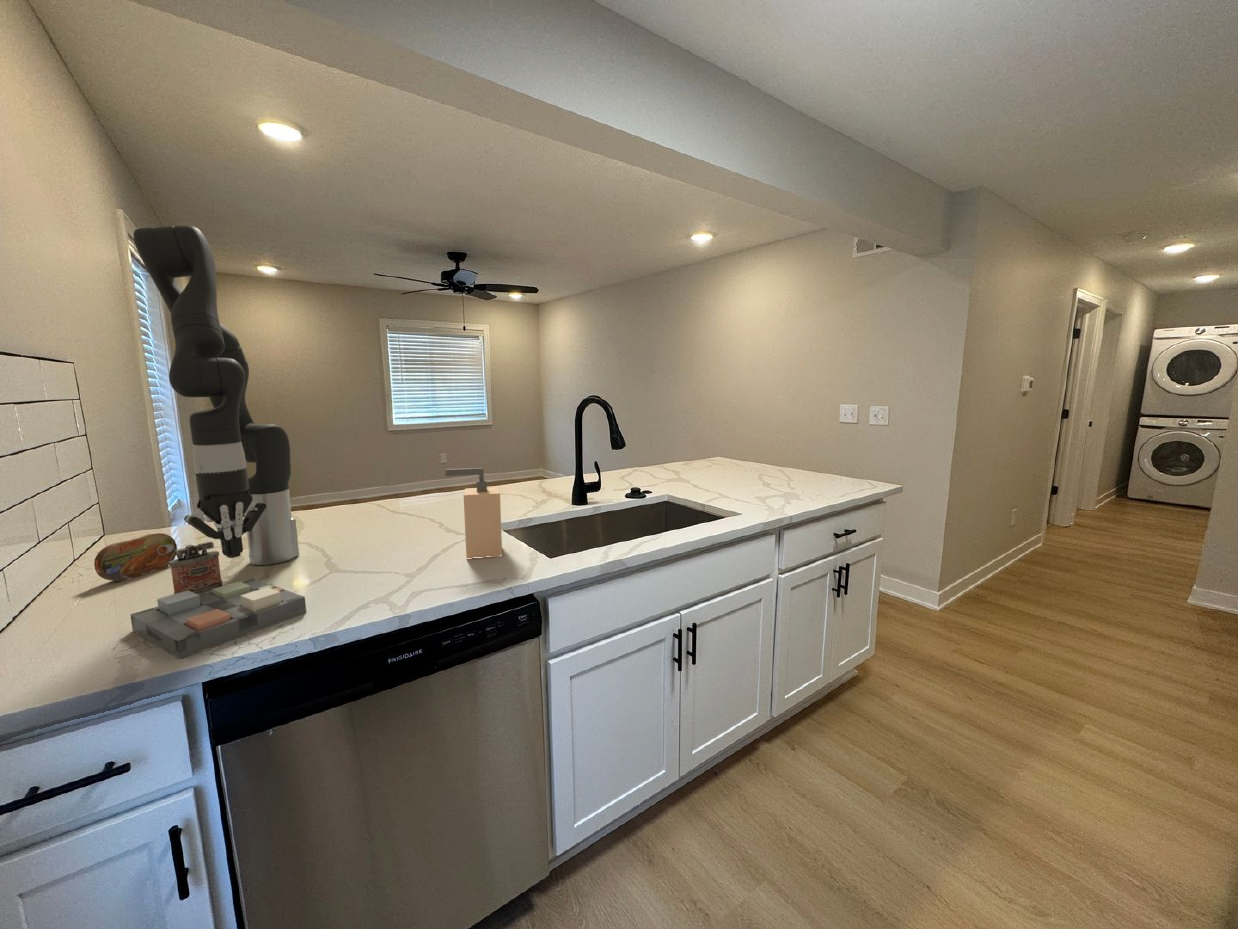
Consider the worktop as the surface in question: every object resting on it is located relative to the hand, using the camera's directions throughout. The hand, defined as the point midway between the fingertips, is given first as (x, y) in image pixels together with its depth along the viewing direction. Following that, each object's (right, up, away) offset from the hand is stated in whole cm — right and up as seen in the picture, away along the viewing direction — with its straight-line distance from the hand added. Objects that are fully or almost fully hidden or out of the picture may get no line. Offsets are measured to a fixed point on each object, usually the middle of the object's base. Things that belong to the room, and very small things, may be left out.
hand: (233, 556), depth 95 cm
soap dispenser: (+37, -5, +32) cm, 49 cm away
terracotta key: (+5, -10, -11) cm, 16 cm away
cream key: (+9, -8, -5) cm, 13 cm away
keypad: (+2, -11, -5) cm, 12 cm away
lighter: (-13, -9, +8) cm, 18 cm away
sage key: (-1, -8, +1) cm, 9 cm away
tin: (-35, -7, +18) cm, 40 cm away
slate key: (-5, -8, -6) cm, 11 cm away
